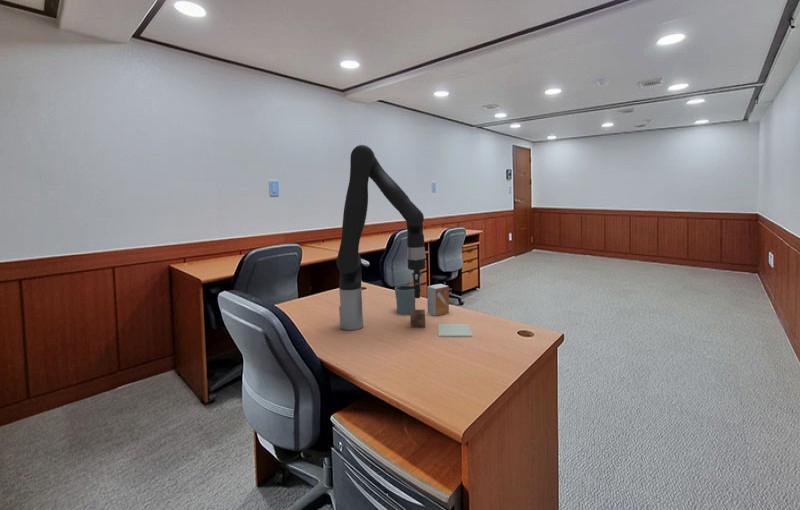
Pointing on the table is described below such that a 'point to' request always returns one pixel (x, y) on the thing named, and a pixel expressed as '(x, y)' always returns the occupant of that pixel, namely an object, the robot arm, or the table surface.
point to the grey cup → (405, 299)
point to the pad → (454, 330)
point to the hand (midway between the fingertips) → (417, 295)
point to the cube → (417, 318)
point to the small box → (438, 299)
